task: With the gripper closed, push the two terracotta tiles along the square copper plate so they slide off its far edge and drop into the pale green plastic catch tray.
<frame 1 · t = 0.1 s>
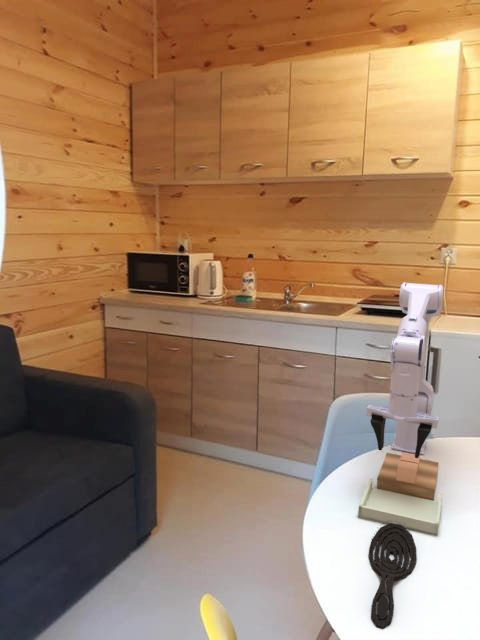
hand: (398, 452, 117), 10 cm above the table, tool pointing down, fingers open, 7 cm apart
hairbrush: (388, 580, 92), on the table
tray: (400, 510, 112), on the table
tile front: (406, 478, 120), point 3 cm above the table, touching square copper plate
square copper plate: (407, 481, 125), on the table
tile rear: (409, 469, 124), point 3 cm above the table, touching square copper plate
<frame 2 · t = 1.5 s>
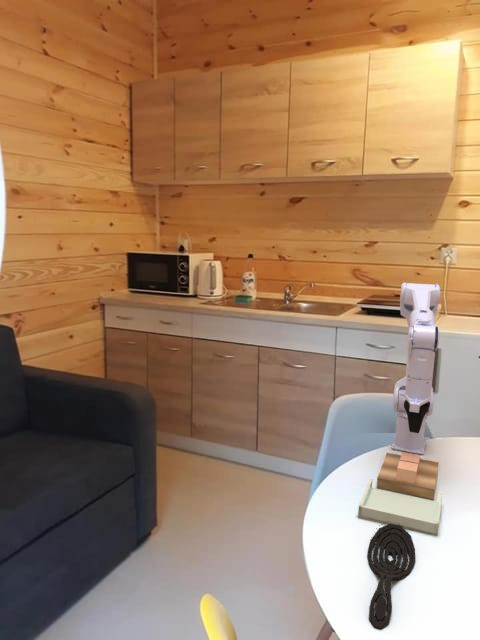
hand: (414, 431, 128), 10 cm above the table, tool pointing down, fingers closed
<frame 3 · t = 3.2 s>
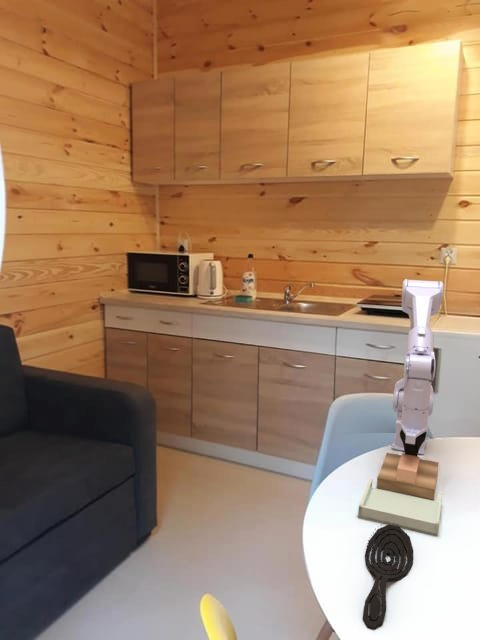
hand: (410, 461, 126), 4 cm above the table, tool pointing down, fingers closed
tile front: (406, 478, 120), point 3 cm above the table, touching tile rear
tile rear: (408, 470, 123), point 3 cm above the table, touching gripper, tile front
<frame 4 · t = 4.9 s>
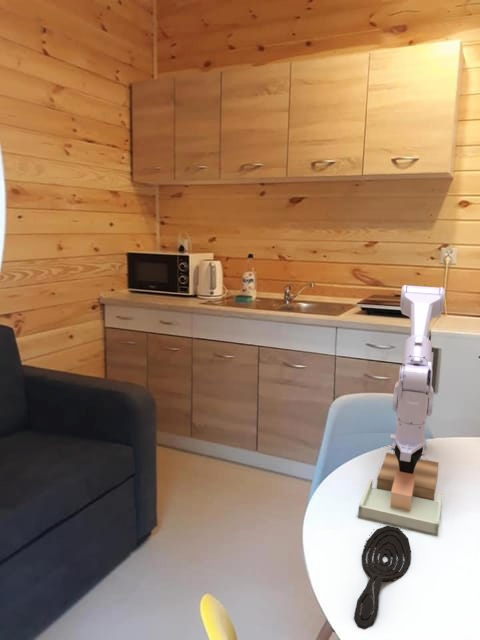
hand: (406, 478, 118), 4 cm above the table, tool pointing down, fingers closed
tile front: (402, 491, 114), point 3 cm above the table, tilted 106°, touching tile rear
tile rear: (403, 489, 116), point 2 cm above the table, tilted 16°, touching gripper, tile front
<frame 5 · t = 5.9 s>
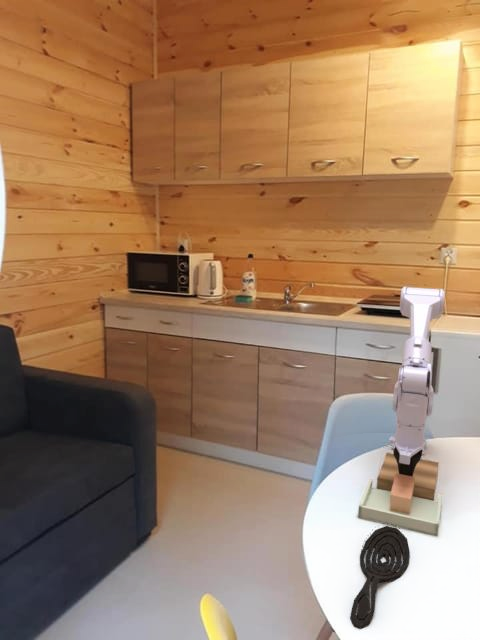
hand: (405, 481, 117), 4 cm above the table, tool pointing down, fingers closed
tile front: (402, 493, 113), point 3 cm above the table, tilted 106°, touching tile rear, tray
tile rear: (403, 492, 115), point 2 cm above the table, tilted 16°, touching gripper, tile front
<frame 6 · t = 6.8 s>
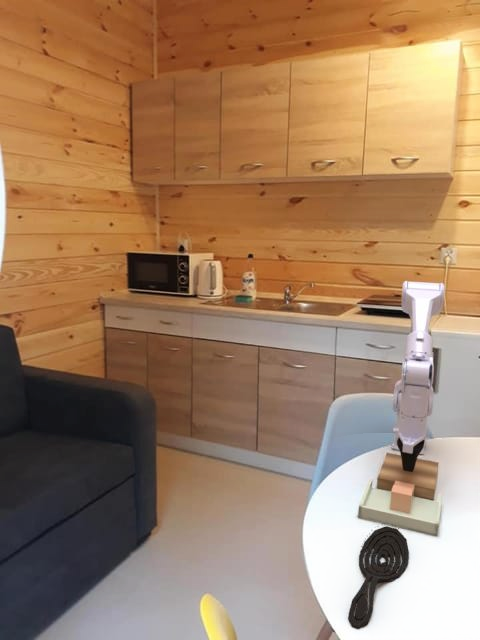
hand: (408, 470, 122), 4 cm above the table, tool pointing down, fingers closed
tile front: (402, 495, 114), point 2 cm above the table, tilted 90°, touching tray
tile rear: (402, 499, 116), resting on tray
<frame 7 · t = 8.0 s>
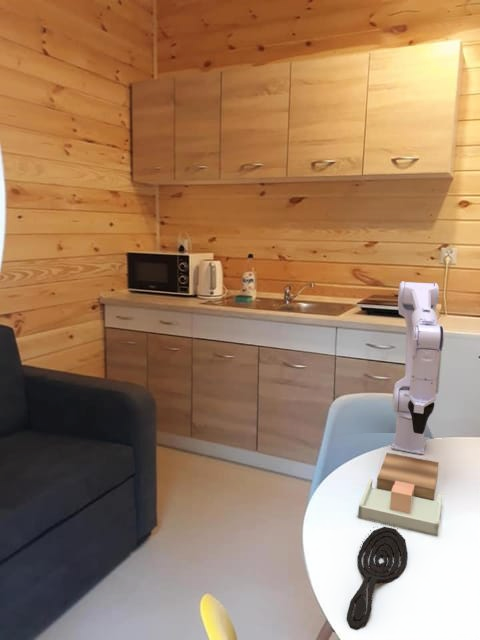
hand: (418, 432, 127), 10 cm above the table, tool pointing down, fingers closed
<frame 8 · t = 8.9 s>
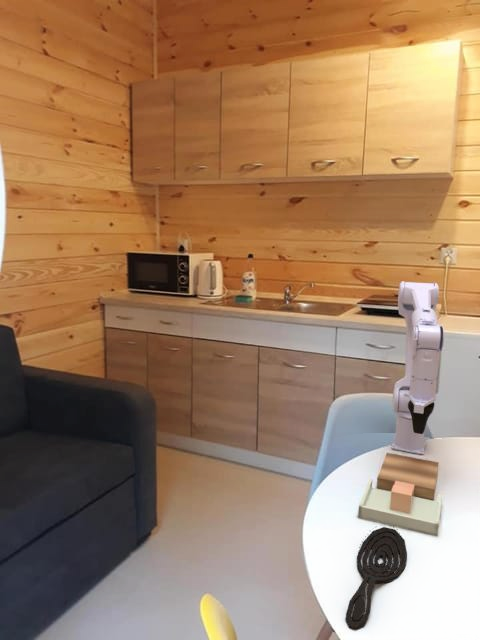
hand: (418, 432, 127), 10 cm above the table, tool pointing down, fingers closed
at the end: tile front inside the target area (2.3 cm from its centre), point 2.5 cm above the table; tile rear inside the target area (4.4 cm from its centre), point 0.5 cm above the table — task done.
